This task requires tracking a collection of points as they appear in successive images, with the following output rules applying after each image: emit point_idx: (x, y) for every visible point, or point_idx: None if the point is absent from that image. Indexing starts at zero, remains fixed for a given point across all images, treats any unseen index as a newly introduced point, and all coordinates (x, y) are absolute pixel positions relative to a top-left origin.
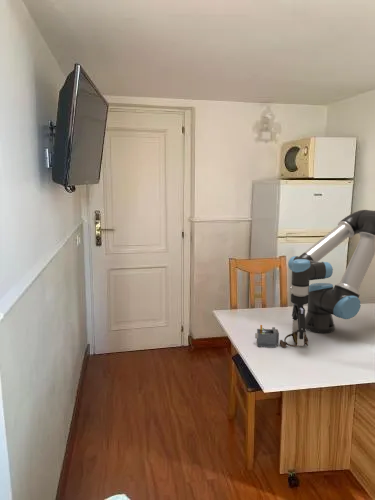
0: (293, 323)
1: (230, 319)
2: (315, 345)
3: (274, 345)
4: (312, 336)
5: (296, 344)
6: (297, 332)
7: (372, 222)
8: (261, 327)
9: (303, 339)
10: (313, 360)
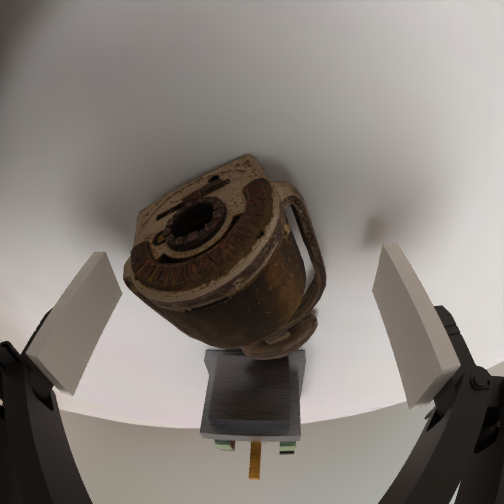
0: (81, 363)
1: (74, 403)
2: (216, 81)
3: (301, 366)
4: (39, 113)
5: (322, 278)
6: (233, 331)
7: None
8: (259, 469)
9: (420, 291)
10: (489, 177)
